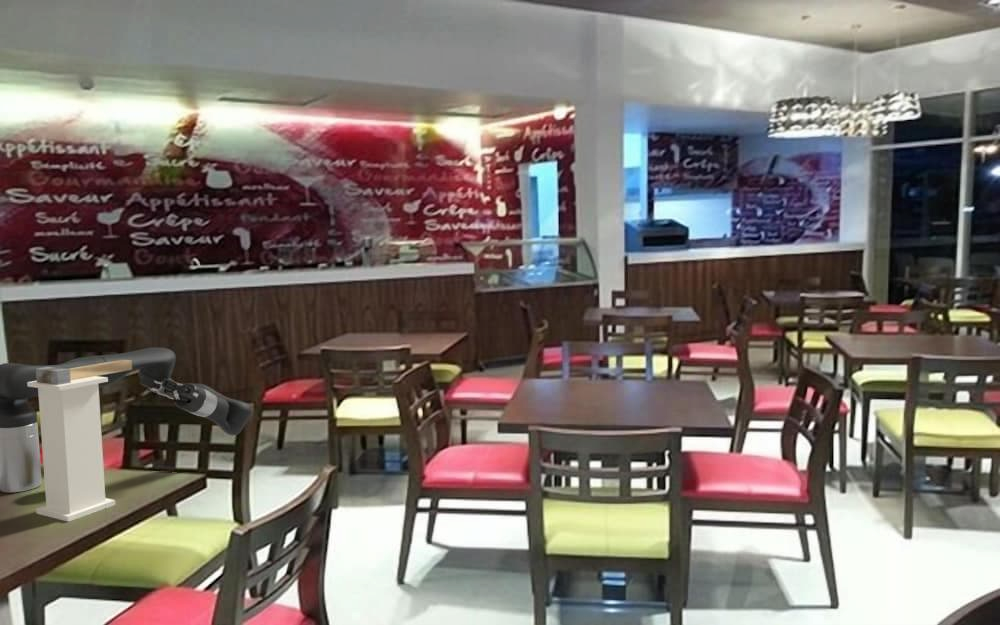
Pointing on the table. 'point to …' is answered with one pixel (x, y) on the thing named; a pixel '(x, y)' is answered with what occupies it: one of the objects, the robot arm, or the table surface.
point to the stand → (72, 448)
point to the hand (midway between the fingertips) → (152, 381)
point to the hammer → (80, 372)
